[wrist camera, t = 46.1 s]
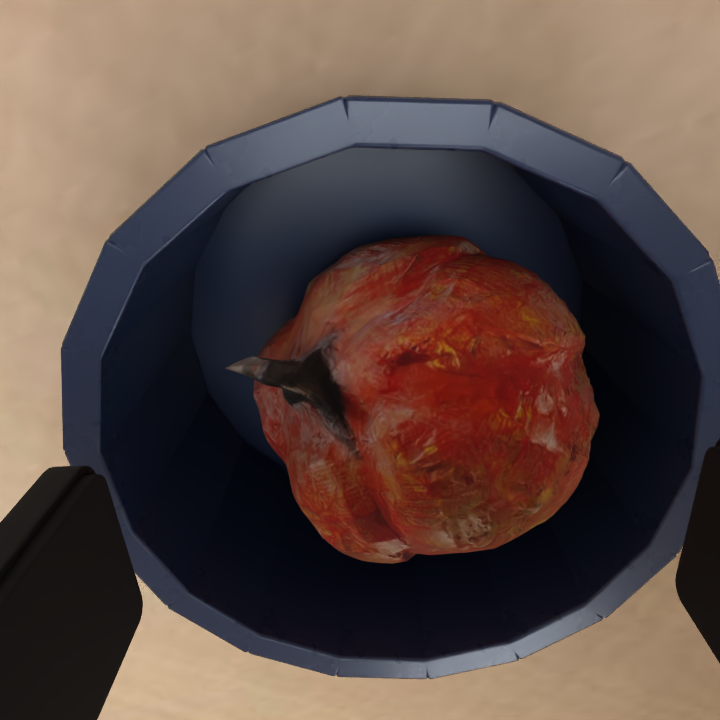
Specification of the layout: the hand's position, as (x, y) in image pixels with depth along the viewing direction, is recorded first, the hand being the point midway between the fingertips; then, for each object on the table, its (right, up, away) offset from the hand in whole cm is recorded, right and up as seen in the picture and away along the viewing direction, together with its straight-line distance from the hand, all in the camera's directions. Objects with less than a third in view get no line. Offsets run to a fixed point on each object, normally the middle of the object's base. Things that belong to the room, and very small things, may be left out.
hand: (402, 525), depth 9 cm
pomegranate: (+1, +3, +7) cm, 8 cm away
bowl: (0, +3, +8) cm, 8 cm away
